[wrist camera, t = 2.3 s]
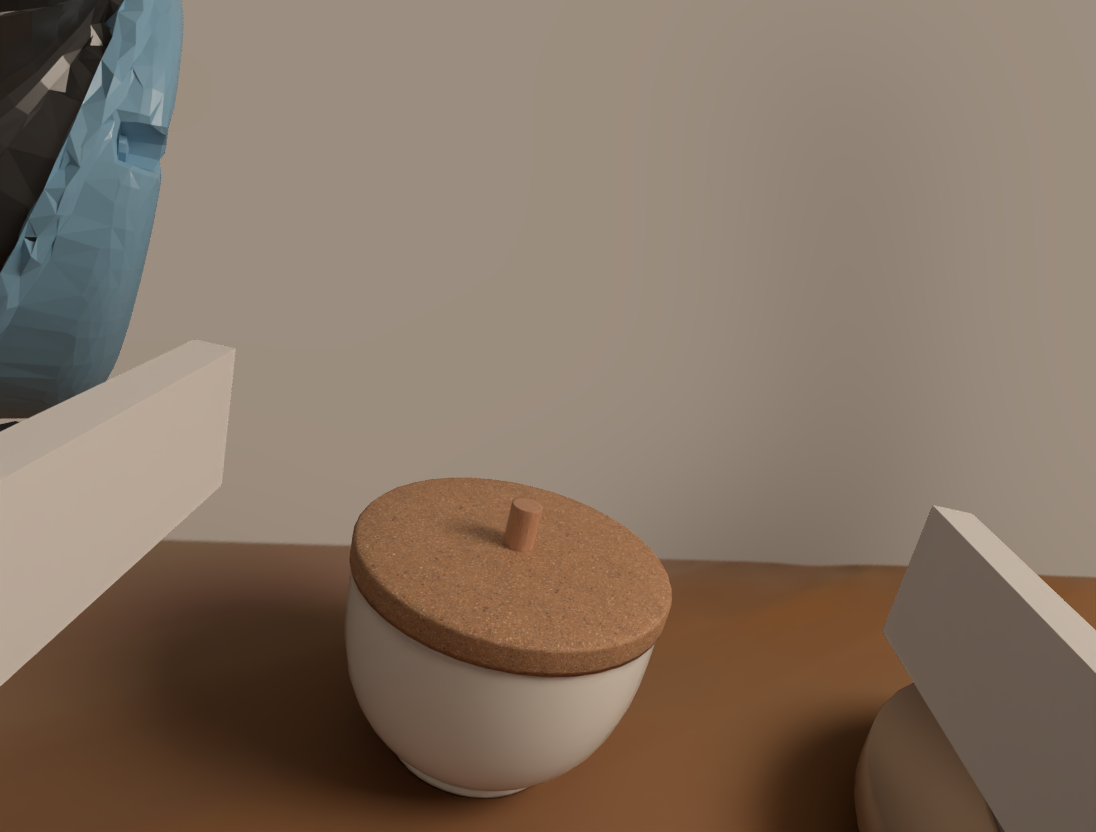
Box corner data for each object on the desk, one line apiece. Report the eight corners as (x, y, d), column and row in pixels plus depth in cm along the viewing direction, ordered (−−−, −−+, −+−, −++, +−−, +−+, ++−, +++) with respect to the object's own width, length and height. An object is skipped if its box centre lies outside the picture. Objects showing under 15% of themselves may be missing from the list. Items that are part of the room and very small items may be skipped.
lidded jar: (499, 618, 37) (546, 428, 34) (674, 782, 30) (753, 559, 27) (269, 683, 30) (302, 449, 27) (426, 918, 23) (495, 636, 20)
